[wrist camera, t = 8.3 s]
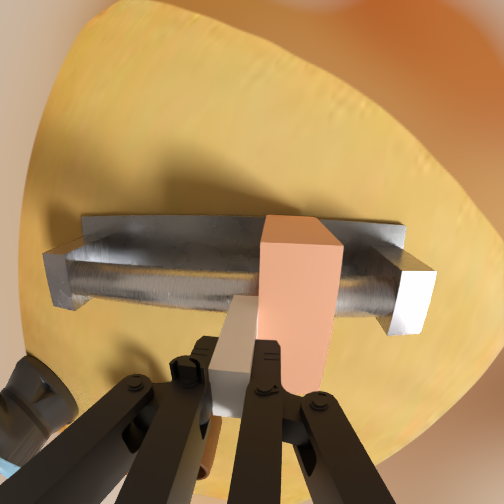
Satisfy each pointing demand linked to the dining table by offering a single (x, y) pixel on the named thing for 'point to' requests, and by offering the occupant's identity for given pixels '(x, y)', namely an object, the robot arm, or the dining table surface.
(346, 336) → the dining table surface
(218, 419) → the mug
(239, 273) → the pipe rig
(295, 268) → the collar
